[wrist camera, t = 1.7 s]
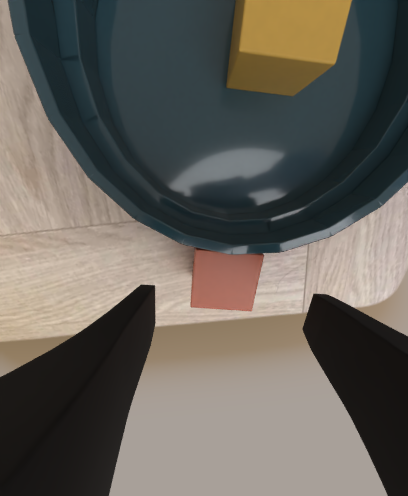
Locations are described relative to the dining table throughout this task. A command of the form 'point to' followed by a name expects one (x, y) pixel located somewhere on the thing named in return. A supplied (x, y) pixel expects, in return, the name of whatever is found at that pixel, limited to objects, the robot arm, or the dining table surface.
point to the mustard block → (284, 43)
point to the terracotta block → (224, 280)
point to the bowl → (220, 119)
